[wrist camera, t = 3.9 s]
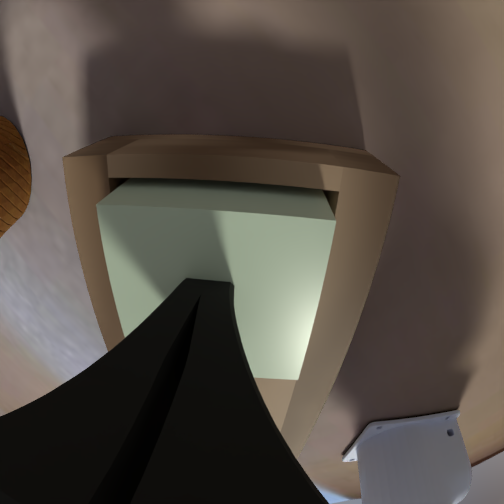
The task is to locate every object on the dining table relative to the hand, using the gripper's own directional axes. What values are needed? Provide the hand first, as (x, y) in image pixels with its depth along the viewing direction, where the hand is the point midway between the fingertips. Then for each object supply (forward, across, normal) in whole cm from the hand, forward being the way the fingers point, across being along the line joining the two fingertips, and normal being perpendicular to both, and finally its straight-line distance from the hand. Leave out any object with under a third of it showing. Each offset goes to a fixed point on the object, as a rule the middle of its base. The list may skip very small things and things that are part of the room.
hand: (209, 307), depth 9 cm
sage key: (+3, 0, 0) cm, 3 cm away
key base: (+5, 0, +10) cm, 11 cm away
